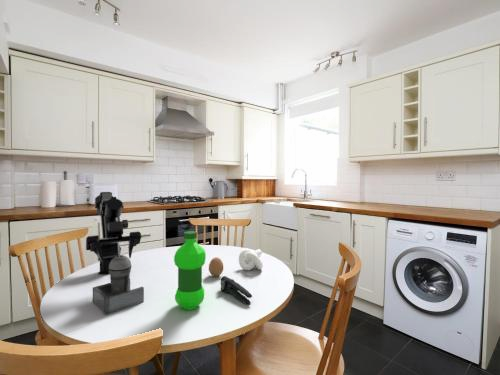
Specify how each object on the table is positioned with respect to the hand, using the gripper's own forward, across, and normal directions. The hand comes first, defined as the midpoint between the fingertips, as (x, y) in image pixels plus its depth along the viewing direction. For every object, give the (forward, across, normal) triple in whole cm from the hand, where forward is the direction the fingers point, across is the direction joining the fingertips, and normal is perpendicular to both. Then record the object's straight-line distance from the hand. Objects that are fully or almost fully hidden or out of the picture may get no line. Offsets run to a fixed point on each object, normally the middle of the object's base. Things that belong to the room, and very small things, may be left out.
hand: (116, 259), depth 96 cm
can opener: (+27, +36, -9) cm, 46 cm away
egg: (+12, +39, +6) cm, 41 cm away
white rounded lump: (+12, +58, +6) cm, 60 cm away
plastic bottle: (+26, +19, -8) cm, 33 cm away
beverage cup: (+14, 0, +3) cm, 14 cm away
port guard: (+14, 0, +3) cm, 15 cm away
